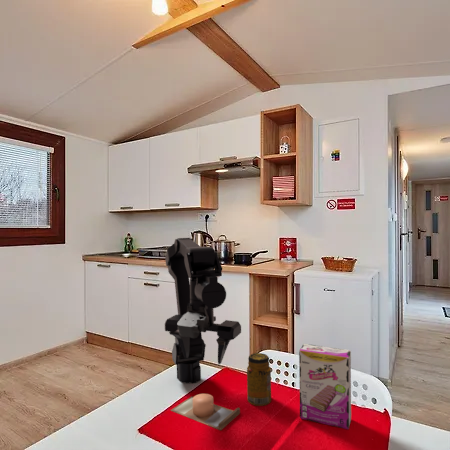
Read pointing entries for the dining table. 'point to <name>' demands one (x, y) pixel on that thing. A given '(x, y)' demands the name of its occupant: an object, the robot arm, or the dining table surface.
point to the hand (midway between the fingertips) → (202, 360)
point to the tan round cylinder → (203, 405)
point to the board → (214, 420)
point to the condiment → (259, 380)
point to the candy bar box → (325, 385)
